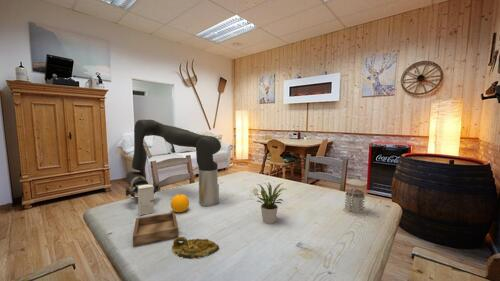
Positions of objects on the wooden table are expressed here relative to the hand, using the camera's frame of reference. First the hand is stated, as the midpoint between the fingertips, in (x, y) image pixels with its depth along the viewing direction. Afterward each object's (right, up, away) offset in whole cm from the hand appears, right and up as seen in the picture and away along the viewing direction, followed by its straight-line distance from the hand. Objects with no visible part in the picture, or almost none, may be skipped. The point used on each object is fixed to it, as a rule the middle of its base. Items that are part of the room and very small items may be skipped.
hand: (144, 193), depth 98 cm
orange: (+18, -8, -2) cm, 19 cm away
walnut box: (+15, -9, -21) cm, 27 cm away
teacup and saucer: (+54, -7, +17) cm, 57 cm away
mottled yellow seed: (+32, -11, -31) cm, 46 cm away
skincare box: (+3, -8, -4) cm, 9 cm away
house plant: (+59, -9, -11) cm, 60 cm away
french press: (+97, -8, -2) cm, 97 cm away
